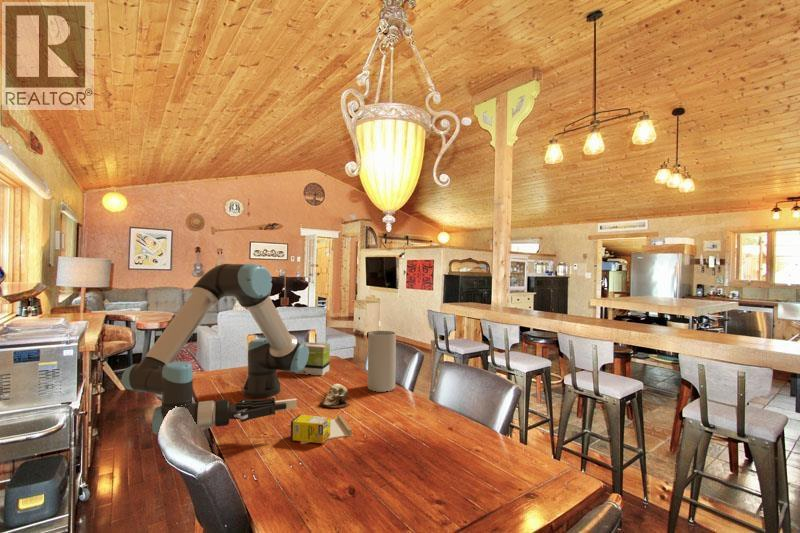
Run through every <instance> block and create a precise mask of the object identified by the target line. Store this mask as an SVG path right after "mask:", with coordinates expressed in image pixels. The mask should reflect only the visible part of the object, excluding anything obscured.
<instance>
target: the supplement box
mask: <svg viewBox="0 0 800 533" xmlns="http://www.w3.org/2000/svg"><path fill="white" fill-rule="evenodd" d="M331 420H332V419H331V417H330V416H321V415H320V416H319V415H318V416H316V415H309V414H308V415H305V414H299V415H297V416H296V417H294V418H293V419H292V420H291V421H290V440H291V441H295V442H296V441H297V442H300V441H305V442H310V443H314V444H315V443H316V444H324V443H325V442H326V441H327V439H328V437H329V436H330V422H331ZM328 440H329V439H328Z"/></svg>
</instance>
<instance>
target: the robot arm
mask: <svg viewBox="0 0 800 533" xmlns="http://www.w3.org/2000/svg"><path fill="white" fill-rule="evenodd" d="M272 281H273V278H272V275H271V273H270V271H269V270H268V269H267V268H266V267H265V266H263V265H260V264H255V263H221V264H219V265H218V264H217V265H216V266H214V267H212V268H211V269H210V270H208V271H207V272H205V273H204V274H203V275H202V276H201V277H200V278H199V279H197V281H196V282H195V284H194V285H193V287H192V288H191V289H190V293H191V294H190V296H189V297H188V298H187V299H186V301H185V302H184V304H183V305H182V306H181V308H180V309H179V310H178V311H177V313H176V314H175V316H174V317H173V318H172V320H171V321H170V323H169V324H168V325H167V327H166V328H165V329H164V330H163V332H162V333H161V334H160V336H159V337H158V338H157V340H156V341H155V342H154V344H153V345H152V346H151V348H150V349H149V350H148V352H147V353H146V354H145V355H144V357H143V359H142V360H141V361H140V363H134V364H132V365H130V366H128V367H127V368H125V370H124V371H123V373H122V376H121V384H122V386H123V387H124V389H127V390H130V391H134V392H137V393H147V394H152V395H159V396H161V405H160V406H157V407H155V408H154V409H153V412H152V421H151V430H152V433H153V434H154V435H159V434H158V431H159V429H160V426H161V424H162V421H163V419H164V417H165V416H166V414H167V413H168V411H169V410H172V409H173V408H175V406H177V407H185V408H187V409H188V410H189V412H190V414H191V415H192V417H193V419H194V421H195V422H196V424H197V425H198V426H199V427H200V428H201V429H200V430H202V431H205V430H206V429H210V428H213V427H214V426H215V427H217V428H218V427H225V426H229V424H230V420H239V421H240V422H241V423H244V422H246V421H249V420H254V419H258V418H262V417H267V416H271V415H273V416H274V415H276V412H279V411H286V410H293V409H294V410H295V409H297V407H298V406H297V405H298V399H297V398H295V397H294V398H289V399H282V400H281V399H280V400H276V399H275V397H273V398H267V397H272V396H275V395H277V394H279V393H280V392H281V383H280V380H279V378H278V374H277V371H281V372H289V373H295V372H299V371H301V370H303V368H304V367H305V365H306V363H307V361H308V356H309V349H308V346H307V345H306V344H303V342H301V343H302V344H301V343H300V342H299V341H298V338H297V337H296V336H295V335H293V334H291V333H290V332H289V330H288V328H287V327H286V324H285V323H284V321H283V319H282V318H281V315H280V314H279V311H278V310H277V308H276V306H275V304H274V303H273V301H272V299H271V297H270V296H271V292H272V287H273V283H272ZM224 297H234V298H235V299H236V301H237V302H238V303H239V306H240V307H242V308H247V310H248V311H249V313H250V315H251V316H252V318H253V320H254V321H255V322H256V324H257V326H258V328H259V330H260V331H261V332H262V334H263V336H264V337H261V338H256V339H253V340H250V341H249V343H248V347H247V377H246V378H245V382H244V385H243V386H242V387H243V388H242V395H243V396H244V397H247V398H254V399H240V400H239V401H238V402H235V403H232V404H230V399H229V398H225V399H217V400H216V401H214V399H213V400H205V401H204V400H203V401H197V402H193V385H194V373H193V364H192V363H191V362H189V361H183V360H182V361H175V359H176V358H177V357H178V355H179V354H180V352H181V351H182V349H183V348H184V346H185V345H186V343H187V342H188V341H189V339H190V338H191V337H192V336H193V334H194V332H195V331H196V330H197V328H198V327H199V325H200V324H201V322H202V321H203V319H204V318H205V316H206V315H207V313H208V312H209V311H210V309H211V307H212V306H216V305H217V304H218V303H219V301H220V300H221V299H223V298H224ZM255 398H257V399H255ZM258 398H259V399H258ZM260 398H261V399H260ZM264 398H265V399H264ZM185 404H186V405H185ZM181 405H182V406H181Z"/></svg>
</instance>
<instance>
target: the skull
mask: <svg viewBox="0 0 800 533" xmlns="http://www.w3.org/2000/svg"><path fill="white" fill-rule="evenodd" d="M348 392H349V390H348V389H347V388H346V387H345V386H344V385H342V384H341V383H334V384H333V385H332V386H330V387H329V390H328V392H326V396H325V399H322V400H321V401H320V405H321V406H323V407H326V408H332V409H334V408H335V409H336V408H337V409H339V408H344V407H345V408H346V407H349V406H350V405H351V404H349V403H350V402H348V403H346V400H347V399H348V394H349V393H348Z"/></svg>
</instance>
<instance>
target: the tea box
mask: <svg viewBox="0 0 800 533" xmlns="http://www.w3.org/2000/svg"><path fill="white" fill-rule="evenodd" d="M302 343H303V344H306V345H307V346H308V349H309V356H308V361H307V363H306V365H305V367H304V368H303V370H301V371H299V372H294V373H295V374H296V375H297V374H298V375H308V374H311V376H318V375H323V376H324V375H326V374H327V373H328V372H330V363H331V362H330V357H331V356H330V355H331V354H330V353H331V352H330V351H331V344H330V343H324V342H323V343H322V342H309V341H308V342H307V341H303V342H301V343H300V344H302ZM326 372H327V373H326ZM325 373H326V374H325Z"/></svg>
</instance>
